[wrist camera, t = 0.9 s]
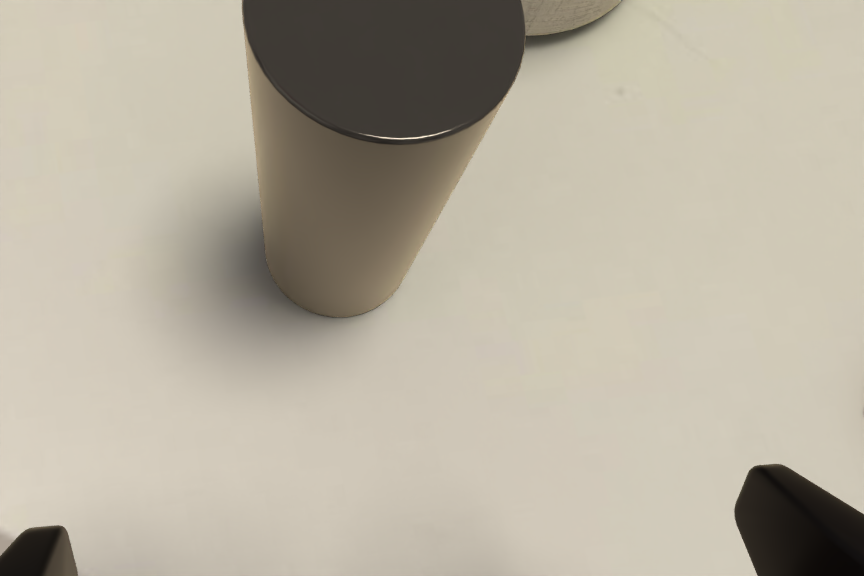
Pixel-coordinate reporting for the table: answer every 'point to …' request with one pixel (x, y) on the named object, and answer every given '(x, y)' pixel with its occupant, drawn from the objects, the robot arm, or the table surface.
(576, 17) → the planter
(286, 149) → the dark grey cylinder
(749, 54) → the table surface
